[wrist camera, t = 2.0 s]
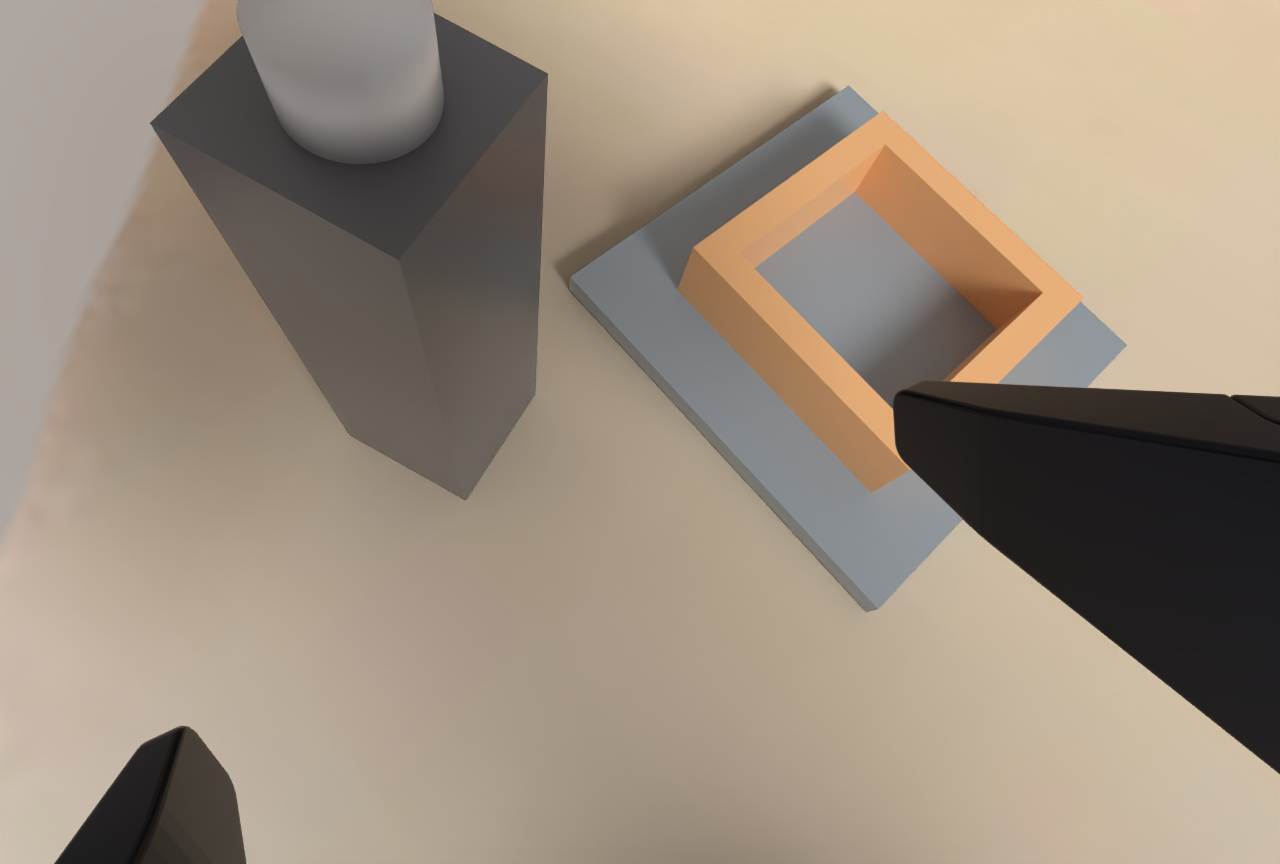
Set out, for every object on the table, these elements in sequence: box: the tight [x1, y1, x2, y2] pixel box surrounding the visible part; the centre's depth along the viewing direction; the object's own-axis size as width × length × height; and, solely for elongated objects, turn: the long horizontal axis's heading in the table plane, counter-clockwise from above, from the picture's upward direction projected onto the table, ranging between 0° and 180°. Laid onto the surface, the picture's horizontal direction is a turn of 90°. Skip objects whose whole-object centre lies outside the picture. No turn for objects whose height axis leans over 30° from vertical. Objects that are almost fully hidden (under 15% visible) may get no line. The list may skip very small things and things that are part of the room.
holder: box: [569, 86, 1127, 612], centre depth 25 cm, size 14×14×3 cm
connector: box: [150, 0, 548, 500], centre depth 16 cm, size 4×4×14 cm
